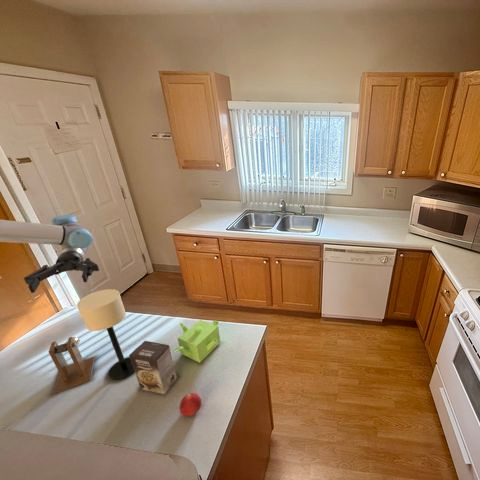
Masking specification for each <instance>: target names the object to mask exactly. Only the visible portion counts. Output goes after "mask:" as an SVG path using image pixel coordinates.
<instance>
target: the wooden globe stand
mask: <svg viewBox="0 0 480 480" xmlns="http://www.w3.org/2000/svg"><path fill="white" fill-rule="evenodd" d="M73 337H74V336H69V337H68V339H67V340H68V342H67V345H66V348H67V350H68V351H67V352H68V355H69V356H70V358H71V360H72V362H73V363H71V364H68V362H67V360H66V358H65V356H64V354H63V353H59V354H57V349H56V346H58V345H59V344H58V342H57V341H56V340H55V341H52V342H51V344H50V347H49V348H48V354H49V356H50V358H51V360H52V362H53V363H54V366H55V367H56V370H57V371H58V373H59V374H58V377H57V380H56V383H55V386H54V390H53V393H52V394H53V395H54V394H58V393H60V392H63V391H65V390H68V389H72V388H74V387H77V386H79V385H82V384H85V383H88V382H91V380H92V376H93V370H94V365H95V359H96V357H95V356H92V357H89V358H86V359H84V358H83V356H82V354H81V352H80V349H79V347H78V345H76V343H75V341H74V338H73Z"/></svg>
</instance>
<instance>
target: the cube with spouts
mask: <svg viewBox="0 0 480 480" xmlns="http://www.w3.org/2000/svg"><path fill="white" fill-rule="evenodd" d="M218 325H219V321H218V320H215V319H214V320H213V322H212V323H210V322H207V321H205V320H202V319H199V320H198V321H197V322H195V323H194V324H193V325H192V326H190V327H189V328H188V327H187V326H186V325H185V324H184V323H179V324H178V326H179V327H180V328H181V329H182V331H183V333H182V334H181V335H179V336H178V337H177V342H178V347H177V348H175V349H174V352H175V353H176V352H180V354H181V355H182V356H184V357H186V358H189V359H191V360H192V361H195V362H197V363H201V362H202V361H203V360H204V359H205V358H206V357H207V356H209V354H210V353H211V352H212V351H214V349H216V347H218V346H219V344H221V336H220V330H219V326H218Z"/></svg>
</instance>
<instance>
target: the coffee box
mask: <svg viewBox="0 0 480 480" xmlns="http://www.w3.org/2000/svg"><path fill="white" fill-rule="evenodd" d="M128 357H130V360H131V362H132V365H133V368H134V371H135V372H134V373H135V377H136V379H137V382H138V385H139V388H140V389H141V390H144V391H149V392H153V393H158V394H163V395H165V394H166V393H167V392H168V390H169V389H170V388H171V387H172V386H173V384H174V383H175V382H176V380H177V378H178V376H177V371H176V368H175V363H174V359H173V356H172V352H171V347H170V345H169V344H166V343H161V342H156V341H155V342H154V341H149V340H144V341H143V342H142V343H140V344H139V345H138V346H137V347H136V348H134V349H133V351H132V352H131V353H130V354H129V355H128Z"/></svg>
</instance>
